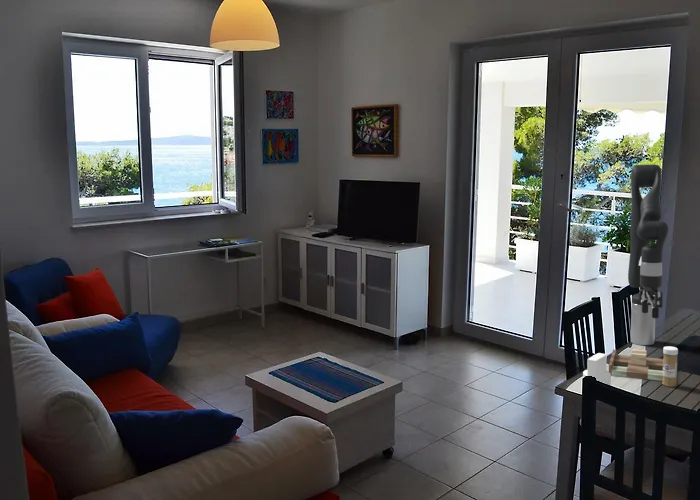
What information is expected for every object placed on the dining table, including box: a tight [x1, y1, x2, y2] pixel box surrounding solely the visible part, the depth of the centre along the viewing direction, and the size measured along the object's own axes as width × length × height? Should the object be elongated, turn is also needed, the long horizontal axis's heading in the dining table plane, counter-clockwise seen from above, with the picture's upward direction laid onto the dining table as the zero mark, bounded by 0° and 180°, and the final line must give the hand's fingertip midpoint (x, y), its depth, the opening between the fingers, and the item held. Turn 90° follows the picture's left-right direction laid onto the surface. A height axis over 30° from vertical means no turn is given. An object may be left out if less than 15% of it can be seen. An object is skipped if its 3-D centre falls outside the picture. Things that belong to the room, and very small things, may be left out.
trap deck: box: [608, 349, 664, 382], centre depth 233 cm, size 19×19×4 cm
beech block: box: [630, 348, 648, 366], centre depth 235 cm, size 6×5×4 cm
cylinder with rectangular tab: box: [582, 352, 612, 385], centre depth 215 cm, size 9×9×12 cm
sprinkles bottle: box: [661, 345, 679, 387], centre depth 217 cm, size 5×5×13 cm
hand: (649, 315), depth 238 cm, fingers open, 8 cm apart
